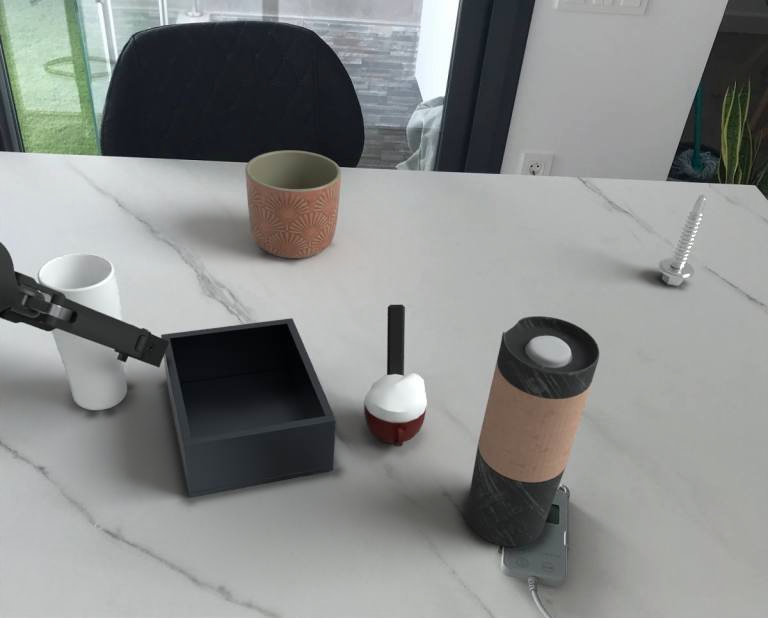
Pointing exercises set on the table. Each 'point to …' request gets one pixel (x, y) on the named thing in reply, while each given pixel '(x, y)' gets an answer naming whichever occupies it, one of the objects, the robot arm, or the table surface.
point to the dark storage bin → (247, 406)
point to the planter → (293, 202)
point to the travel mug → (529, 427)
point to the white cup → (81, 356)
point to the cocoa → (396, 390)
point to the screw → (683, 248)
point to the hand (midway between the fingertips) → (112, 336)
